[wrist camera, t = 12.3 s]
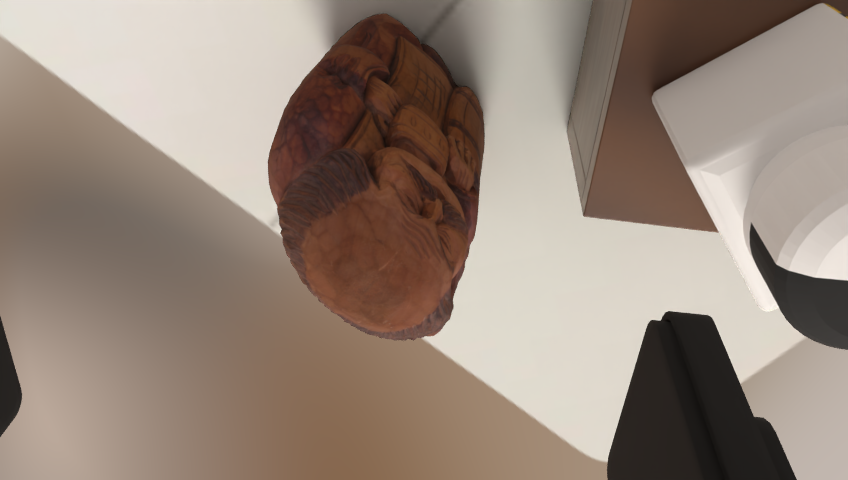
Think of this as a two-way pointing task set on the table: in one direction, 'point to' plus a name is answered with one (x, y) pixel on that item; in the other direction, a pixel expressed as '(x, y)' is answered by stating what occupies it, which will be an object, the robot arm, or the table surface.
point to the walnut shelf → (632, 99)
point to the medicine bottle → (776, 163)
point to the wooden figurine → (380, 180)
